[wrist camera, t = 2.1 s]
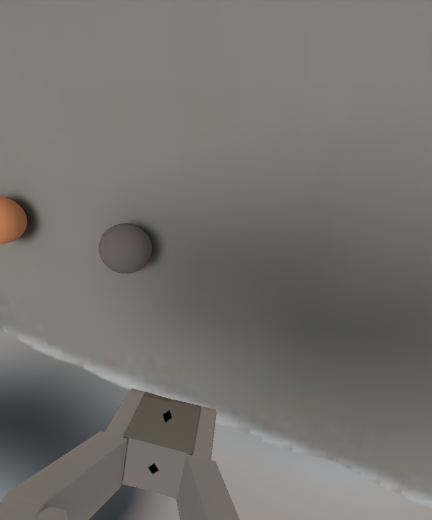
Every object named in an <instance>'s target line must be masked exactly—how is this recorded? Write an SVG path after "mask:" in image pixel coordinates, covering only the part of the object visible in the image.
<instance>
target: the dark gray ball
mask: <svg viewBox="0 0 432 520" xmlns="http://www.w3.org/2000/svg"><path fill="white" fill-rule="evenodd" d="M151 253H152V245H151V241H150V239H149V237H148V235H147V234H146V233H145V232H144V231H143V230H142V229H141V228H139V227H137V226H135V225H132V224H118V225H115V226H113V227H111V228H109V229H108V230H107V231H106V232H105V233H104V234H103V236H102V237H101V239H100V243H99V254H100V257H101V259H102V261H103V262H104V264H105V265H106V266H107V267H108V268H110V269H111V270H113V271H115V272H118V273H133V272H136V271H138V270H140V269H142V268H143V267H144V266H145V265H146V264H147V263H148V261H149V259H150V257H151Z"/></svg>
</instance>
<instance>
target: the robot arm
mask: <svg viewBox="0 0 432 520" xmlns="http://www.w3.org/2000/svg"><path fill="white" fill-rule="evenodd" d="M215 421H216V410H214V409H210V408H206V407H201V406H199V405H194V404H190V403H186V402H182V401H178V400H172V399H168V398H165V397H161V396H158V395H154V394H151V393H147V392H143V391H139V390H136V389H131V390H130V391H129V392H128V393H127V395H126V397H125V399H124V400H123V402H122V404H121V406H120V407H119V409H118V411H117V413H116V414H115V416H114V418H113V419H112V421H111V423H110V425H109V426H108V428H107V430H106V432H99V433H97V434H96V435H94V436H93V437H91V438H90V439H88V440H87V441H85V442H84V443H82V444H81V445H79V446H78V447H76V448H74V449H73V450H72V451H70V452H68V453H67V454H66V455H64V456H62V457H61V458H59V459H58V460H56V461H55V462H53V463H52V464H50V465H49V466H47V467H46V468H44V469H43V470H41V471H39V472H38V473H36V474H35V475H34V476H32V477H30V478H29V479H27V480H26V481H24V482H23V483H21V484H20V485H18V486H17V487H15V488H14V489H12V490H11V491H9V492H8V493H7V494H6V496H5V497H4V498H3V500H2V501H1V502H0V520H89V519H90V518H91V517H92V516H93V515H94V514H95V513H96V512H97V510H99V508H100V507H101V506H102V505H103V504H104V503H105V502H106V501H107V500H108V499H109V498H110V497H111V496H112V495H113V494H114V493H115V492H116V491H117V490H118V489H119V488H120V487H121V484H124V485H129V486H133V487H137V488H142V489H146V490H150V491H153V492H156V493H160V494H163V495H166V496H169V497H173V498H176V499H177V506H178V511H179V516H180V520H239V517H238V515H237V512H236V510H235V507H234V505H233V503H232V500H231V498H230V495H229V493H228V490H227V488H226V486H225V483H224V481H223V478H222V476H221V474H220V471H219V469H218V466H217V464H216V462H215V461H211V455H212V446H213V437H214V429H215Z"/></svg>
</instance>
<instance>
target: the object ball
mask: <svg viewBox="0 0 432 520" xmlns="http://www.w3.org/2000/svg"><path fill="white" fill-rule="evenodd" d="M26 227H27V217H26V214H25V212H24V210H23V209H22V208H21V207H20V206H19V205H18V204H17V203H16V202H14V201H13V200H11V199H9V198H7V197H4V196H0V244H2V243H8V242H11V241H14V240H16V239H17V238H19V237H20V236H21V235H22V234H23V233H24V231H25V229H26Z"/></svg>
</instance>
